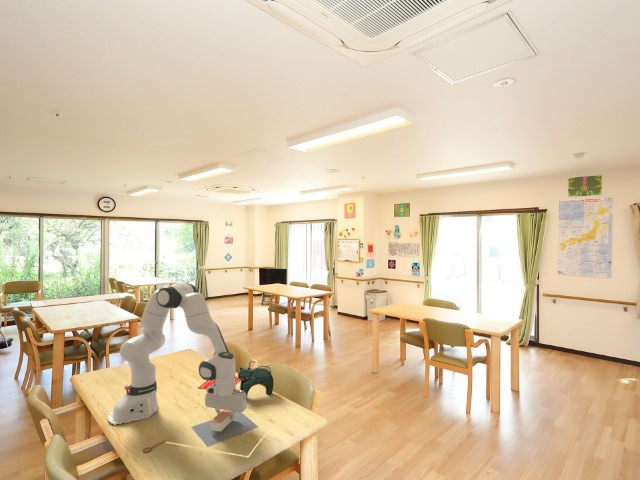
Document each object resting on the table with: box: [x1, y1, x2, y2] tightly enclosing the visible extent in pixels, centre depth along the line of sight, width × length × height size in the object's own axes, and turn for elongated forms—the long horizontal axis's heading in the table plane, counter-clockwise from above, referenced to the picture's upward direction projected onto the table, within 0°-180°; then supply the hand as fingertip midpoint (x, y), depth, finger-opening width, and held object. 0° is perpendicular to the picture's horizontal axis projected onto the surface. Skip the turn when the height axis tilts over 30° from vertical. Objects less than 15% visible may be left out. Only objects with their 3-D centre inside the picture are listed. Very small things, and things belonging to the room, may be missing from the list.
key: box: [142, 440, 167, 454], centre depth 145 cm, size 6×1×15 cm
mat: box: [190, 411, 259, 448], centre depth 156 cm, size 24×20×1 cm
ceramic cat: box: [237, 360, 274, 400], centre depth 189 cm, size 20×6×20 cm, turn 114°
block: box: [211, 409, 237, 432], centre depth 156 cm, size 4×5×14 cm
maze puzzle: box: [197, 376, 241, 390], centre depth 207 cm, size 20×20×1 cm
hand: (226, 418), depth 158 cm, fingers closed on block, 5 cm apart
